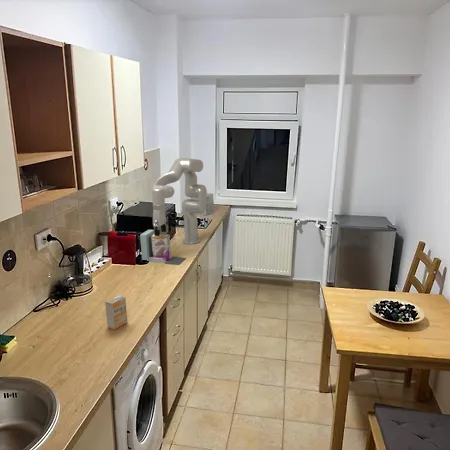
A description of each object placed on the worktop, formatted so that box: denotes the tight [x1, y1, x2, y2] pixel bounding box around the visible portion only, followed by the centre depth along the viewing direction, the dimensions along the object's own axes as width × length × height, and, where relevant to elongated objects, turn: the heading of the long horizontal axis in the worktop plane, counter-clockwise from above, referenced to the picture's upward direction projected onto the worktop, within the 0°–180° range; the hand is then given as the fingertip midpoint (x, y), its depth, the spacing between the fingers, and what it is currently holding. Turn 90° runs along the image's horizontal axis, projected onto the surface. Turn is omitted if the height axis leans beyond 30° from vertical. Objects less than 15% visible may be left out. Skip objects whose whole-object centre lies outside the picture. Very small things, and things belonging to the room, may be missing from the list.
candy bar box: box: [151, 233, 172, 261], centre depth 265 cm, size 11×5×16 cm, turn 84°
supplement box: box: [104, 294, 128, 331], centre depth 185 cm, size 8×5×13 cm, turn 148°
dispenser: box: [139, 229, 167, 264], centre depth 266 cm, size 12×16×18 cm
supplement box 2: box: [190, 192, 215, 216], centre depth 382 cm, size 17×13×18 cm
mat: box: [164, 256, 187, 266], centre depth 264 cm, size 12×10×1 cm
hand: (160, 233), depth 262 cm, fingers open, 9 cm apart
